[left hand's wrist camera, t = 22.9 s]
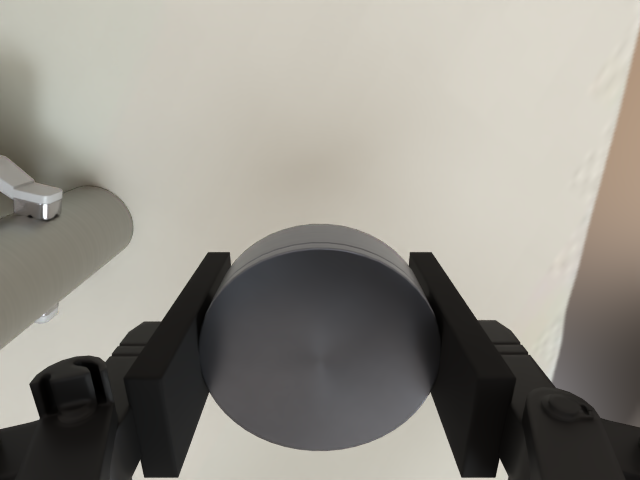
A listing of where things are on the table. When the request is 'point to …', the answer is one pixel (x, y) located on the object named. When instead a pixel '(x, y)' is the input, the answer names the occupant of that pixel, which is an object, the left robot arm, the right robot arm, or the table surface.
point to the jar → (56, 254)
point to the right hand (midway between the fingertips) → (55, 258)
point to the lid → (319, 339)
